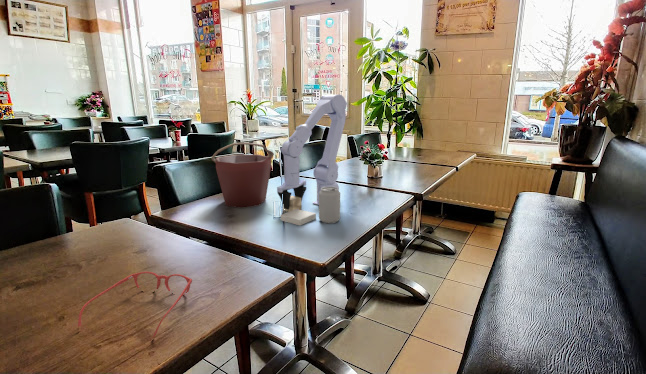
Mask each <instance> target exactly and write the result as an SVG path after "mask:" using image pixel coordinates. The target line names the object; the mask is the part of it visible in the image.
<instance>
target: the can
mask: <svg viewBox="0 0 646 374" xmlns="http://www.w3.org/2000/svg"><path fill="white" fill-rule="evenodd" d="M338 190H339V191H338ZM340 219H341V192H340V188H339V189H338V188H336V187H323V188H321V191H320V192H319V205H318V220H320V221H321V223H323V224H335V223H338V221H339V220H340Z"/></svg>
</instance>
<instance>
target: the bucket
mask: <svg viewBox="0 0 646 374" xmlns="http://www.w3.org/2000/svg"><path fill="white" fill-rule="evenodd" d="M240 145H243V146H245V145H248V146H249V145H250V146H256V147H260V148H263V150H264V151H265V152H266V153H267V156H266V155H262V154H231V155H230V154H229V155H225V156H218V157H217V155H218V154H220V153H221V152H223V151H225V150H226V149H230V148H231V147H235V146H240ZM274 155H275V153H274V152H273V151H271V150H269V149H268V148H267V147H266V146H265V144H261V143H255V142H254V143H253V142H233V143H231V144H228V145H226V146H224V147H221V148H219V149H217V151H215V152H214V154H213V155H212V156H211V161H213V162H214V163H215V170H216V174H217V178H218V182H219V185H220V189H221V192H222V196H223V200H224V204H225V206H226V207H232V208H239V209H244V208H251V207H258V206H261V204H263V203H264V202H266V201H267V200H266V199H267V193H268V187H269V182H270V176H271V175H270V174H271V170H272V169H271V168H272V159H273V157H274ZM215 157H216V158H215Z"/></svg>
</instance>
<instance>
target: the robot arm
mask: <svg viewBox="0 0 646 374" xmlns="http://www.w3.org/2000/svg"><path fill="white" fill-rule="evenodd" d="M347 105H348V102H347V101H346V99H345V97H344V96H343V95H342V94H341V93H339V94H338V93H337V94H323V95H321V96H320V98H319V99H318V100H317V102H316V106H315V107H314V109H313V110H312V111H311V113H310V115H309V116H308V118H307V119H306V121H305V122H304V124H299V125H297V126H296V127H295V131H294V132H293V133H292V134H291V136H289V137H288V140H285V141H284V142H283V143H282V144H281V148H280V151H281V153H282V155H283V171H284V173H283V176H284V182H282V184H281V185H279V186H277V187H276V192H277V195H278V196H279V198H280V200H281V201H282V194H283V203H282V205H283V204H284V209H289V204H290V196H292V192H290V191H289V190H293V192H294V196H296V197H300V198H301V203H302V201H303V197H304V196H305V195H304V194H305V193H306V190H307V181H306V180H304V179H301V180H300V156H301V155H302V153H303V147H304V146H305V144H306V142H308V140H309V139H310V137H311V135H312V134H313V133H312V132H313V131H312V130H313V129H314V127H315V126H316V125H317V124H318V122H319V121H320V120H321V119H322V118H323V117H324V115H327V116H328V117H329V118H330V125H329V129H328V134H327V137H326V141H325V146H324V149H323V154H322V157H321V159H319V160H318V161H317V164H316V166H315V167H314V169H313V172H312V173H313V177H314V179H315V181H316V201H312V204H313V205H318V206H319V192H320V191H321V188H323V187H336V188H338V189H339V190H338V191H339V192H340V186H339V184H338V182H337V181H338V178H339V165H338V163H337V162H336V161H337V156H338V152H339V148H340V143H341V139H342V136H343V132H344V128H345V123H346V119H347V117H346V115H347V113H346V108H347ZM284 209H283V210H284Z"/></svg>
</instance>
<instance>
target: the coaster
mask: <svg viewBox="0 0 646 374" xmlns="http://www.w3.org/2000/svg"><path fill="white" fill-rule="evenodd" d="M316 219H317V213H316V212H313V211H312V212H311V211H307V210H303V209H302V210H300V209H295V210H293V211H290V212H287V211H286V212H285V213H282V214H280V221H282V222H286V223H289V224H293V225H297V226H302V225H304V224H306V223H310V222H311V221H313V220H316Z"/></svg>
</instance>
